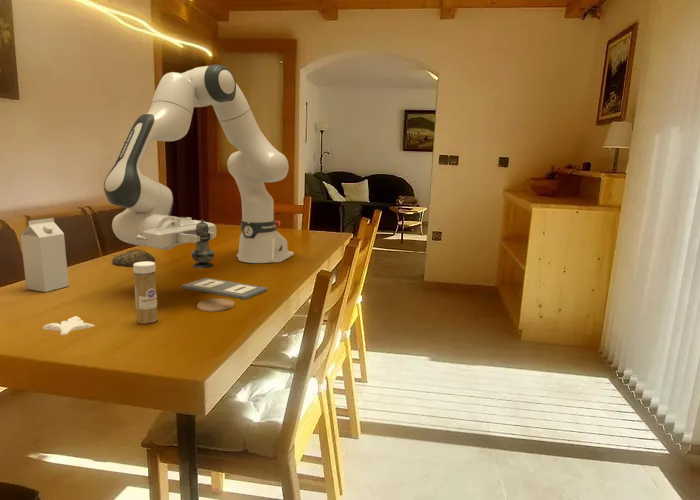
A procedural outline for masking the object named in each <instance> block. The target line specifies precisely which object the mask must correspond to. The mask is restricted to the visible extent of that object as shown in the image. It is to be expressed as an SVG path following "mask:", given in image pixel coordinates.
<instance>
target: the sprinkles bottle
mask: <svg viewBox="0 0 700 500" xmlns="http://www.w3.org/2000/svg"><path fill="white" fill-rule="evenodd" d="M132 268H133V269H132V270H133V271H132V272H133V274H134V295H135V298H134V299H135V309H136V322H137V323H138V324H144V325H145V324H152V323H155V322H157V321H158V319H159V317H158V296H157V286H156V285H157V284H156V270H157V265H156V263H155V261H154V262H149V261H144V262H137V263H134V264H133V267H132Z"/></svg>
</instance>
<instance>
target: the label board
mask: <svg viewBox="0 0 700 500" xmlns="http://www.w3.org/2000/svg"><path fill="white" fill-rule="evenodd" d="M181 289H186V290H191V291H197V292H200V293H201V292H202V293H206V294H207V293H208V294H211V295H212V294H213V295H218V296H222V297H229V298H234V299H240V300H245V299H246V300H248V299H251V298H252V296H253V297H255V296H257V294H258V295H260V294H262V293H261V292H263V293H264V291H265V292H267V291H268V287H265V286H259V285H252V284H246V283H240V282H235V281H230V280H229V281H228V280H223V279H222V280H221V279H216V278H210V277H204V278H201V279H197V280H195V281H191V282H188V283H184V284H181ZM259 293H260V294H259ZM254 295H255V296H254ZM250 297H251V298H250Z"/></svg>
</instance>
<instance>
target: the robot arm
mask: <svg viewBox="0 0 700 500" xmlns="http://www.w3.org/2000/svg"><path fill="white" fill-rule="evenodd" d="M151 101H152V102H151V104H150V108H149V110H148V112H147V113H144V114H142V115H140V116H138V117H137V118H136V120H135V121H134V123H133V124H132V126H131V128H130V130H129V132H128V135H127V136H126V139H125V142H124V144H123V145H122V148H121V150H120V153H119V155H118V157H117V159H116V161H115V163H114V165H113V166H112V168H111V169H110V171H109V172H108V174H107V175H106V176H105V179H104V181H103V191H104V194H105V197H106V199H107V201H108V202H109V203H111V205H114V206H116V207H120V208H125V210H123V211H122V212H120V213H117V214H116V215H115V216H114V217H113V219H112V221H111V222H112V223H111V229H112V232H113V233H114V235H115V236H116V238H117V239H119V240H120V241H122V242H124V243H126V244H130V245H134V246H139V247H140V246H141V247H145V246H146V247H149V248H153V249H159V250H172V249H173V248H174V249H175V247H177V246H179V245H185V244H188V243H189V244H190V243H192V244H193V243H194V244H196V243H197V242H200V235H196V225H197V224H198V223H200V222H201V220H197V219H192V217H189V216H173V215H171V213H172V209H173V206H174V195H173V191H172V190H171V189H170V188H169V187H168V186H166V185H165V184H162V183H161V182H159V181H156V180H154V179H152V178H151V177H148V176H146V175H144V174H142V172H141V168H140V167H141V164H142V163H143V160H144V157H145V155H146V153H147V151H148V148H149V146H150V144H151V143H152V142H153V141H158V142H175V141H178V140H181V139H182V138H184V137H185V136H187V134H188V132H189V130H190V127H191V124H192V123H191V122H192V119H193V114H194V109H195V108H202V107H208V106H212V108H213V111H214V112H215V116H216V117H217V119H218V122H219V124H220V126H221V129H222V130H223V133H224V135H225V137H226V139H227V141H228V142H229V143H230V144H231V146H234V147H235V148H236V149H237V150H238V151H237V150H236V151H234V152H232V153H231V154H230V155H229V157H228V159H227V162H226V165H227V170H228V172H229V174H230V175H231V177H232V178H233V179H234V181H235V183H236V185H237V188H238V191H239V194H240V200H241V215H242V216H241V221H240V231H241V233H240V235H239V244H238V253H237V254H236V258H237V259H238V261H239V262H242V263H248V264H268V263H281V262H283V261H285V260H286V259H289V258H291V257H292V256H294V255H295V253H294V251H290V250H288V240H287V239H286V237H284V235H282V234H281V233H280V232H279V231H277V227H280V226H281V221H280V220H275V218H274V217H275V216H274V208H275V207H274V206H275V204H274V198H273V197H272V195H271V194H270V193H269V192H268V190H267V188H266V186H265V183H275V182H279V181H283V180H284V179H285V178H286V177H287V175H288V173H289V168H290V167H289V161H288V158H287V157H286V156H285V154H283V153H281V152H280V151H279V150H278V149H277V148H275V147H274V146H273V145H272V143H271V142H269V140H268V139H267V138H266V136H265V134H264V133H263V132H262V130H261V129H260V127H259V125H258V123H257V121H256V119H255V116H254V113H253V112H252V109H251V107H250V104H249V102H248V100H247V98H246V96H245V95H244V93H243V91H242V90H241V88H240V87H239V85H238V83H237V82H236V78H235V76H234V74H233V72H232V71H231V70H230V69H229V68H228V67H226V66H225V65H221V64H210V65H205V66H198V67H195V68H192V69H189V70H186V71H185V72H184V71H183V72H177V71H176V72H175V71H171V72H167V73H165V74H164V75H163V76H162V77H161V78H160V80H159V83H158V84H157V87H156V89H155V92H154V95H153V97H152V100H151ZM203 222H204V223H206V224H207V225H208V236H209V237H210V238H209V241H211V240H214V239H215V238H216V237H217V226H216V225H215V224H214V223H212V222H210V221H209V222H208V221H203Z"/></svg>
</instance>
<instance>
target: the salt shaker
mask: <svg viewBox="0 0 700 500" xmlns="http://www.w3.org/2000/svg"><path fill="white" fill-rule="evenodd" d="M200 221H201V222H200V223H198V224H197V225H196V235H200V242H197V243H195V244H196V246H195V249H194V250H192V251H191V252H190V254H191V258H192V259H193V261H194V262H196V263H194V264H192V268H193V269H203V270H204V269H210V268H213V267H215V265H214V264H213V263H212V260H213V259H214V255H215V253H216V252H215V250H213V249H211V248H210V240H209V238H210V237H209V236H208V225H207V224H206V223H204V222H205V221H204V219H202V218H201V219H200ZM203 221H204V222H203Z"/></svg>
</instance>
